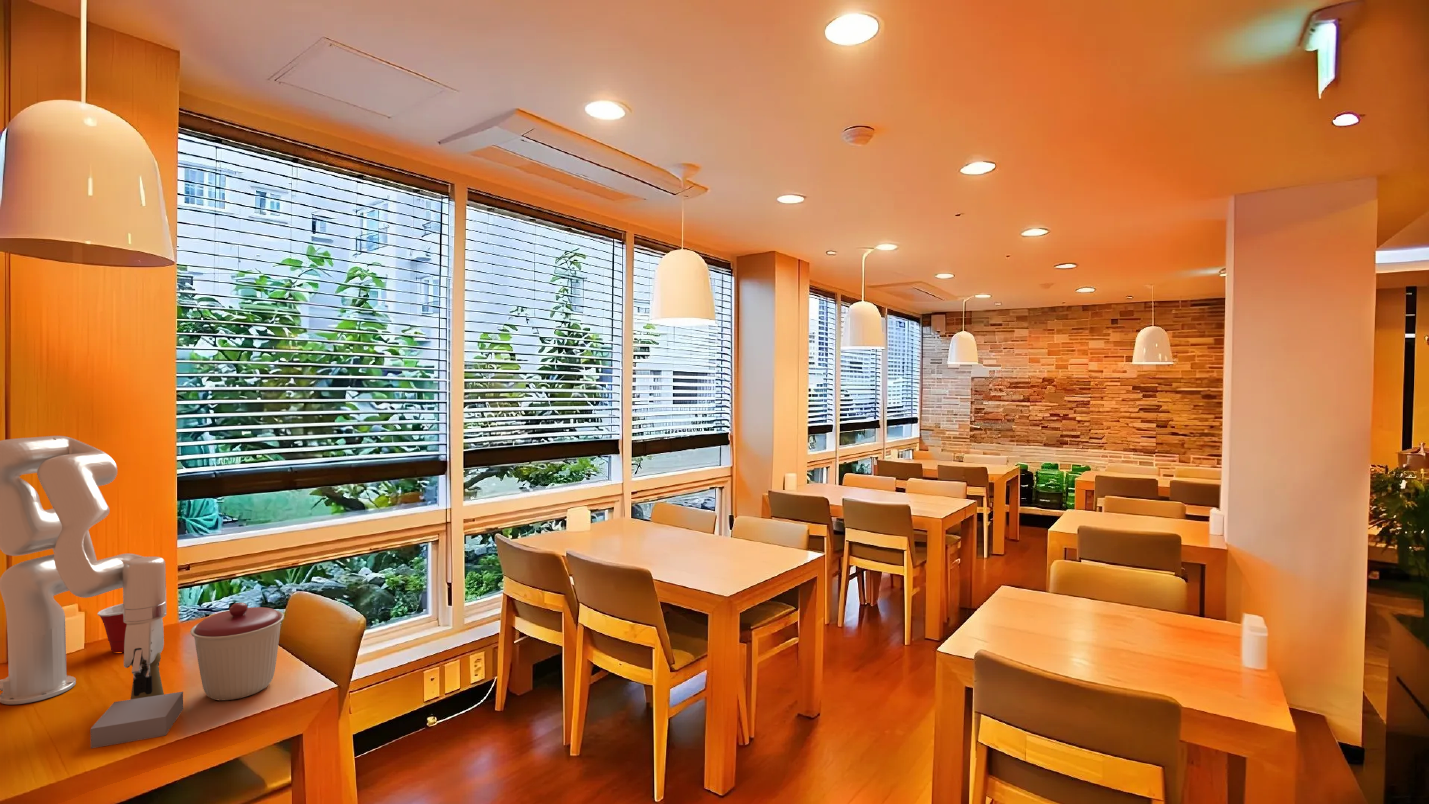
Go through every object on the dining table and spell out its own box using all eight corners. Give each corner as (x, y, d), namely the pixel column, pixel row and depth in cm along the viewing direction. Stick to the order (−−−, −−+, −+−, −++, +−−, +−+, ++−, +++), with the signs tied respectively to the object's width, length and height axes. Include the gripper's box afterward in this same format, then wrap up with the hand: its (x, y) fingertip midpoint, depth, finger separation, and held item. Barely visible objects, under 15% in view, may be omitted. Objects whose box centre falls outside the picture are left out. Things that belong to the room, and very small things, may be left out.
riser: (90, 748, 133) (90, 728, 133) (114, 720, 144) (114, 702, 144) (165, 735, 138) (165, 716, 138) (183, 708, 149) (183, 691, 149)
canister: (211, 717, 146) (210, 622, 145) (178, 695, 155) (176, 606, 154) (299, 685, 161) (298, 599, 160) (263, 667, 171) (262, 586, 170)
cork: (170, 693, 156) (169, 647, 156) (146, 706, 150) (145, 658, 150) (147, 692, 157) (146, 646, 156) (122, 704, 151) (121, 657, 150)
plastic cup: (119, 642, 185) (118, 599, 185) (161, 640, 186) (160, 598, 186) (86, 658, 175) (85, 613, 174) (131, 657, 176) (130, 612, 175)
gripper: (137, 602, 159) (139, 677, 159) (109, 626, 143) (111, 709, 144) (176, 598, 162) (178, 672, 162) (153, 621, 147) (155, 703, 147)
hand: (146, 689), depth 153 cm, fingers closed on cork, 4 cm apart
